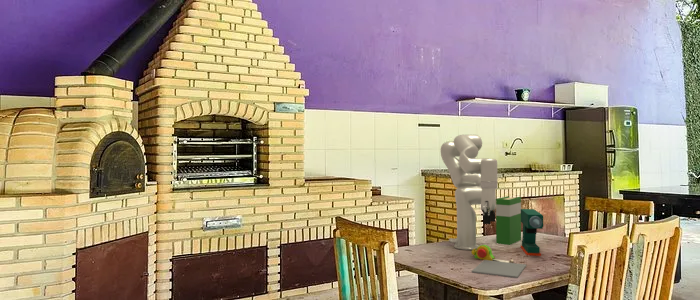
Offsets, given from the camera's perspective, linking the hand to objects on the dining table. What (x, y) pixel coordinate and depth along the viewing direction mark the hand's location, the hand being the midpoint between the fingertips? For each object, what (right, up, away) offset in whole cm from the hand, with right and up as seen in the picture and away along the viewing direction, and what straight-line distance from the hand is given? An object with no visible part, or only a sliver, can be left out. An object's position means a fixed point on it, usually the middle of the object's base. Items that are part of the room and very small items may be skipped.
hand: (489, 222), depth 217 cm
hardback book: (+23, -17, +41) cm, 50 cm away
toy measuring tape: (+1, -17, -1) cm, 17 cm away
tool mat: (-1, -17, -17) cm, 24 cm away
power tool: (+24, -17, +10) cm, 31 cm away
